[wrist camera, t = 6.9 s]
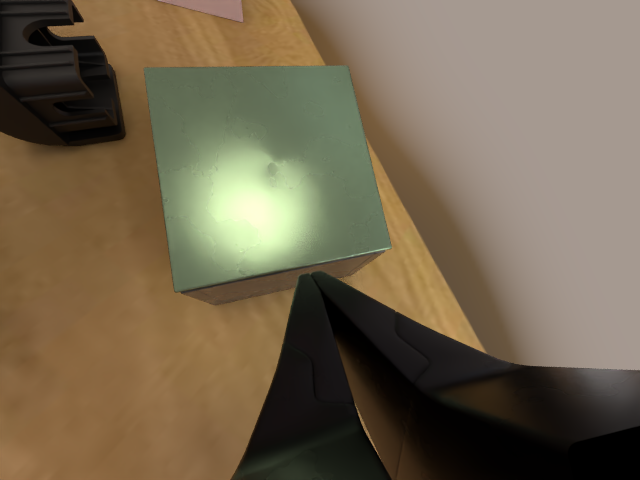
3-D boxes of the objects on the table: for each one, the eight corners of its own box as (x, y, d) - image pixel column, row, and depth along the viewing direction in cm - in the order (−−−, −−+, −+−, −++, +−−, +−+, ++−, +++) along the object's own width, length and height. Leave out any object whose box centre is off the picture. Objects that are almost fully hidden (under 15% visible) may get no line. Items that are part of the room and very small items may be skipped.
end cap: (28, 72, 23) (-64, -23, 17) (114, 65, 25) (59, -22, 19) (32, 158, 21) (-76, 83, 14) (127, 143, 22) (69, 71, 16)
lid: (149, 78, 14) (142, 66, 13) (344, 74, 16) (348, 64, 15) (179, 292, 12) (173, 293, 12) (386, 249, 15) (392, 248, 14)
